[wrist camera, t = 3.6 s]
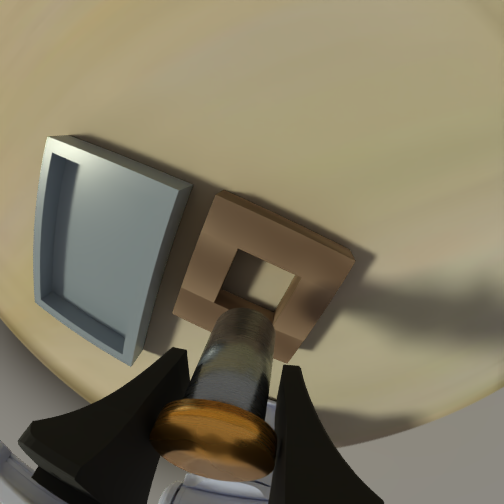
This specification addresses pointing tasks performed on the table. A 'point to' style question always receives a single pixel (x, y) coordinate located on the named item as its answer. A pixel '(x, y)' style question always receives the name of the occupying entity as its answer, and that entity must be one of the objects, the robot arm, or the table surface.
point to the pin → (224, 405)
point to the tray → (103, 241)
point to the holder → (270, 250)
